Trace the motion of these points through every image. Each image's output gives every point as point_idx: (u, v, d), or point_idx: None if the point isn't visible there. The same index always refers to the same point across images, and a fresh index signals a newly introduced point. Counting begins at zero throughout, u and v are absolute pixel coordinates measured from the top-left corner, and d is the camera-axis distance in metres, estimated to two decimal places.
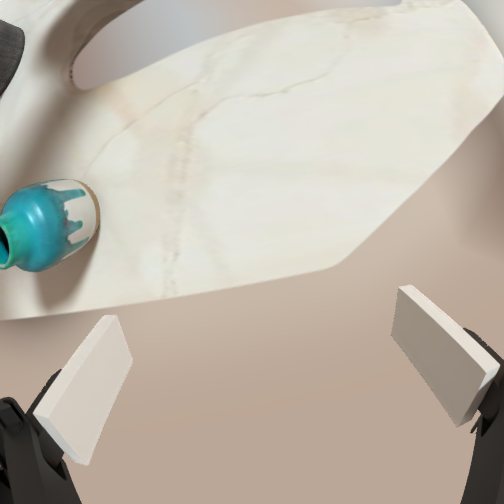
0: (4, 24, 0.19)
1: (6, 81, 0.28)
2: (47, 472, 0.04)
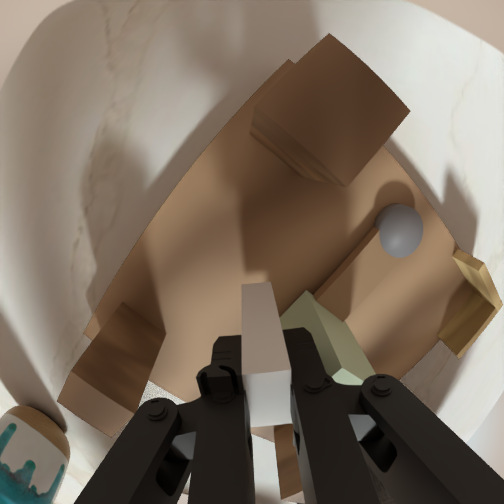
0: None
1: None
2: (247, 454, 0.06)
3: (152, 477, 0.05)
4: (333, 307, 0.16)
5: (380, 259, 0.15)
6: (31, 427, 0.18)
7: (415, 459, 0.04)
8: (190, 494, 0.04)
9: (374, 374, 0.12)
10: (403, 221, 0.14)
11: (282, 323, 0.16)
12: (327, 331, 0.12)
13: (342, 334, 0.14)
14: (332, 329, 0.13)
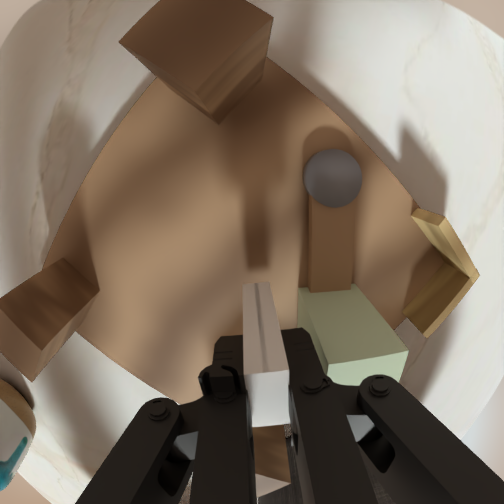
0: None
1: None
2: (249, 454, 0.06)
3: (154, 477, 0.05)
4: (330, 285, 0.15)
5: (336, 217, 0.14)
6: None
7: (414, 460, 0.04)
8: (192, 494, 0.04)
9: (389, 333, 0.11)
10: (326, 169, 0.13)
11: (299, 327, 0.16)
12: (317, 326, 0.12)
13: (344, 311, 0.13)
14: (328, 316, 0.13)
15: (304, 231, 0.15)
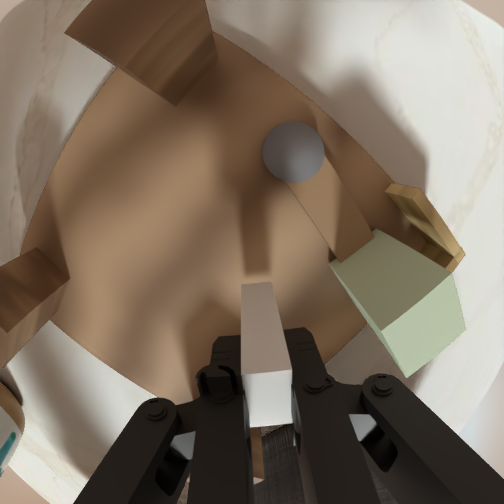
0: None
1: None
2: (246, 454, 0.06)
3: (151, 476, 0.05)
4: (354, 245, 0.15)
5: (319, 184, 0.13)
6: None
7: (416, 459, 0.04)
8: (189, 494, 0.04)
9: (426, 264, 0.10)
10: (281, 149, 0.13)
11: (351, 297, 0.15)
12: (358, 295, 0.12)
13: (377, 264, 0.12)
14: (364, 279, 0.12)
15: (267, 209, 0.15)
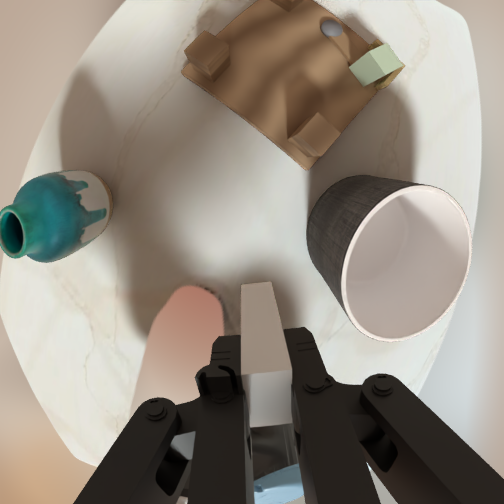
0: None
1: (308, 235, 0.39)
2: (246, 454, 0.06)
3: (151, 476, 0.05)
4: (357, 59, 0.30)
5: (341, 38, 0.29)
6: (91, 173, 0.32)
7: (416, 459, 0.04)
8: (189, 494, 0.04)
9: None
10: (328, 26, 0.28)
11: (360, 78, 0.31)
12: (361, 57, 0.27)
13: None
14: None
15: (323, 46, 0.30)
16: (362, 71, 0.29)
